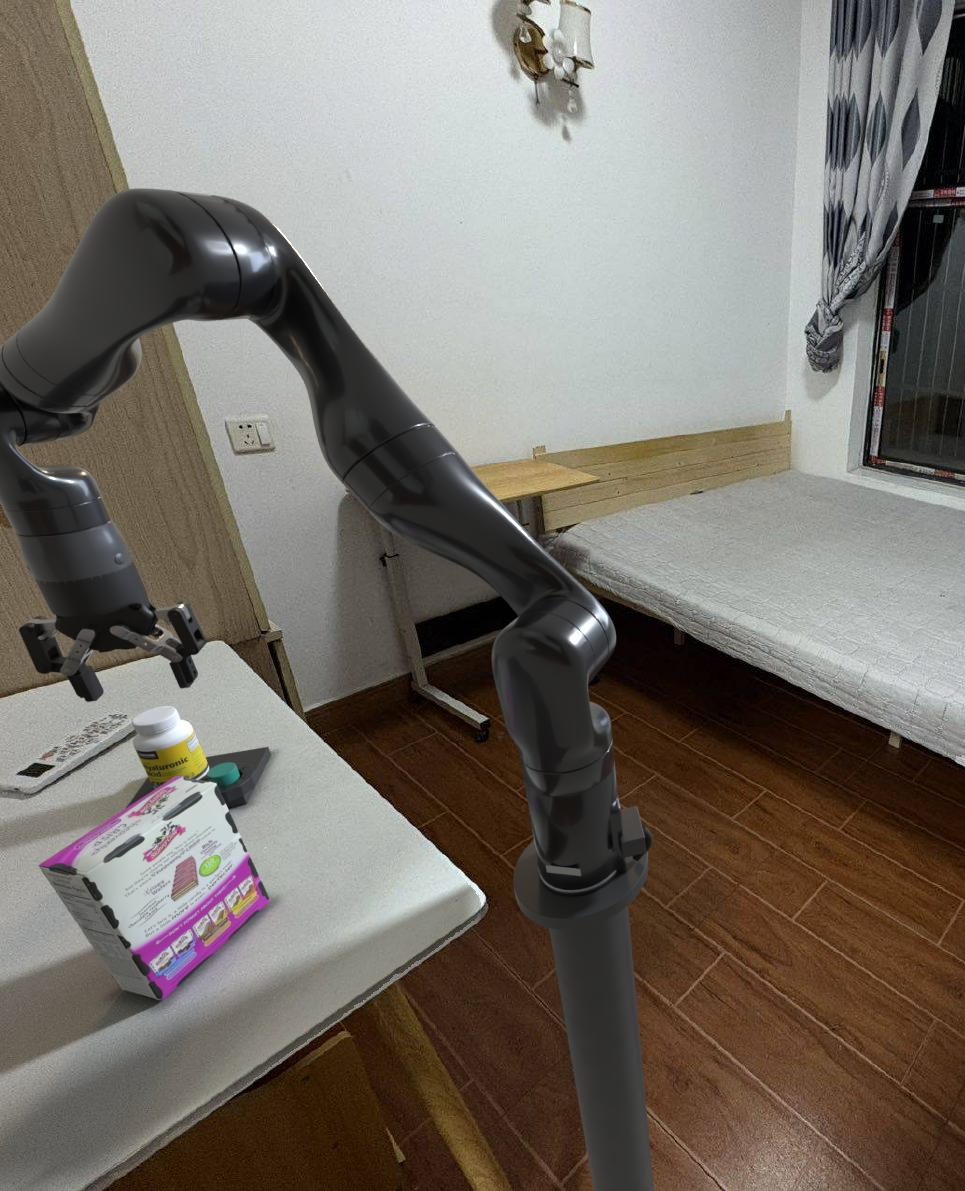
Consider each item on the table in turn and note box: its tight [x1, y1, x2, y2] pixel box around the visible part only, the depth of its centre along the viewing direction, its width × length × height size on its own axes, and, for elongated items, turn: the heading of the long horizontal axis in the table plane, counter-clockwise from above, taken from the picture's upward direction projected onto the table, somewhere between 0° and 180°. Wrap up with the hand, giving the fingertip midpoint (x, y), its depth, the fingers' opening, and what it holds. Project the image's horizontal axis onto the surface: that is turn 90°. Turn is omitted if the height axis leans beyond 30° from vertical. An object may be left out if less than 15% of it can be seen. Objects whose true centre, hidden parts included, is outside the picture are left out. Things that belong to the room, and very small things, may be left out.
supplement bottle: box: [131, 705, 209, 789], centre depth 80 cm, size 5×5×10 cm
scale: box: [124, 746, 272, 809], centre depth 81 cm, size 13×11×3 cm
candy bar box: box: [38, 776, 271, 1001], centre depth 60 cm, size 11×5×16 cm, turn 170°
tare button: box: [207, 762, 240, 788], centre depth 80 cm, size 3×3×2 cm
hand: (142, 691), depth 76 cm, fingers open, 8 cm apart
